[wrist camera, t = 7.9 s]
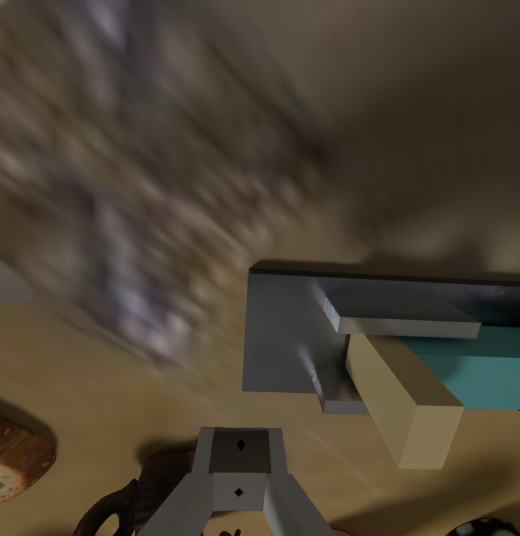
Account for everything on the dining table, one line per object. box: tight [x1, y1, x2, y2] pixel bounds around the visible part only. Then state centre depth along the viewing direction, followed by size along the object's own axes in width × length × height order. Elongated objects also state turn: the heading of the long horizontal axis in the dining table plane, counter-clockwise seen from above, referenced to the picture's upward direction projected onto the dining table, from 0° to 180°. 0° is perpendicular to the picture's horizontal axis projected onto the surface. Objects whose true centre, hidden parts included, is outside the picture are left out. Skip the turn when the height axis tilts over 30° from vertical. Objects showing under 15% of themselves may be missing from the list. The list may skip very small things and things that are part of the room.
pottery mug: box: [73, 450, 241, 536], centre depth 21 cm, size 12×10×8 cm
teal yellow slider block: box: [345, 326, 520, 469], centre depth 15 cm, size 4×15×7 cm, turn 86°
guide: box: [242, 269, 520, 415], centre depth 17 cm, size 9×24×6 cm, turn 86°
